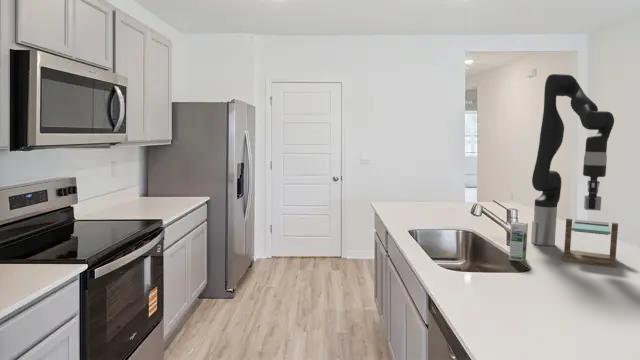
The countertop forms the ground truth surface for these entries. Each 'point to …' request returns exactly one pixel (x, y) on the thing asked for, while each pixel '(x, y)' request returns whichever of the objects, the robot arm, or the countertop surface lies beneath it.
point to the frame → (588, 256)
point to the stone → (597, 204)
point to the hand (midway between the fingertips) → (591, 207)
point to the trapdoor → (591, 227)
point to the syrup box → (518, 241)
